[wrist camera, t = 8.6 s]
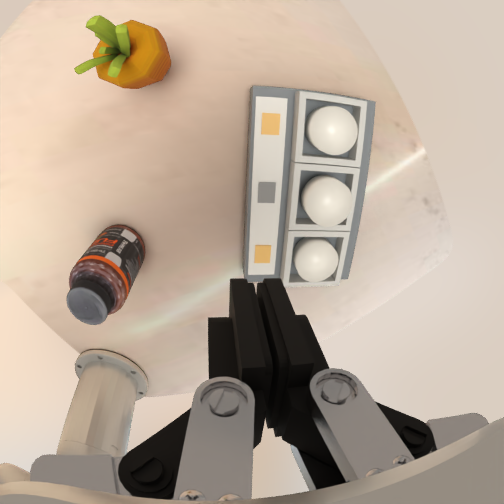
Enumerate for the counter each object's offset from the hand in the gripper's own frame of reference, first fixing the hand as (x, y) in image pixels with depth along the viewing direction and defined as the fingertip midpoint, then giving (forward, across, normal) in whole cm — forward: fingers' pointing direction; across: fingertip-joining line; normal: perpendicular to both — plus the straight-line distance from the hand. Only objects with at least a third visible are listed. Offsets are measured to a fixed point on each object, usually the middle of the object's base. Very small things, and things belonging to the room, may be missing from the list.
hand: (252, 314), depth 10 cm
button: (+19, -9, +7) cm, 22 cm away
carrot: (+22, +7, -12) cm, 26 cm away
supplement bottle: (+22, +12, +8) cm, 26 cm away
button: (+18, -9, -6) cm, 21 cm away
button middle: (+18, -9, 0) cm, 20 cm away
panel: (+22, -8, 0) cm, 23 cm away
